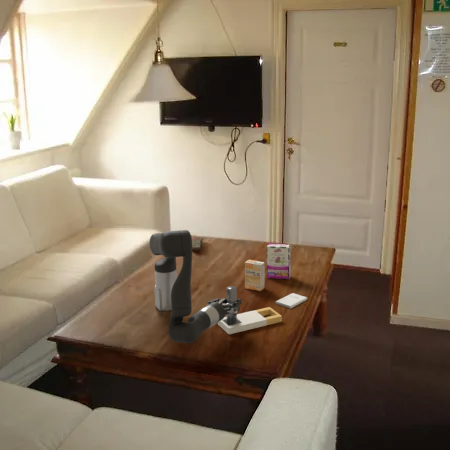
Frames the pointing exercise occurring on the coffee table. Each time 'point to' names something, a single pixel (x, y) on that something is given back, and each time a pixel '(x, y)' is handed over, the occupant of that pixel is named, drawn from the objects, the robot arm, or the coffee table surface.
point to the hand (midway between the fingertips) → (235, 299)
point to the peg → (231, 298)
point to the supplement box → (254, 275)
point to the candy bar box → (278, 261)
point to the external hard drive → (291, 300)
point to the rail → (251, 320)
